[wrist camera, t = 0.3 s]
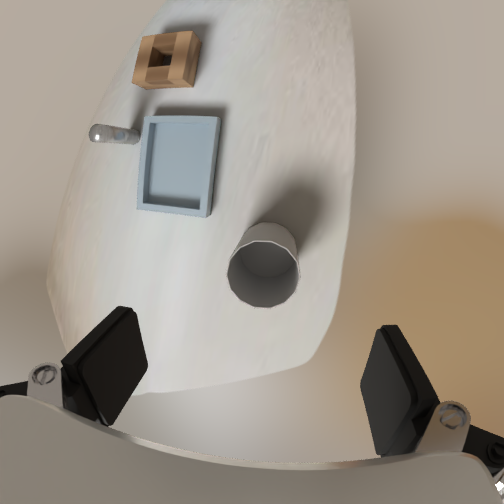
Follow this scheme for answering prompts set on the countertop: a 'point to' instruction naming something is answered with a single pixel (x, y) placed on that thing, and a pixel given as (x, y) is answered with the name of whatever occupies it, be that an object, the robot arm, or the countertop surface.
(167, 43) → the bore block
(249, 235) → the cup
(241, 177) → the countertop surface
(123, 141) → the pin
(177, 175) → the tray
